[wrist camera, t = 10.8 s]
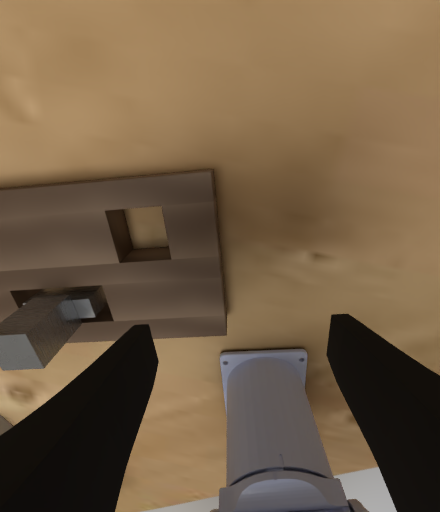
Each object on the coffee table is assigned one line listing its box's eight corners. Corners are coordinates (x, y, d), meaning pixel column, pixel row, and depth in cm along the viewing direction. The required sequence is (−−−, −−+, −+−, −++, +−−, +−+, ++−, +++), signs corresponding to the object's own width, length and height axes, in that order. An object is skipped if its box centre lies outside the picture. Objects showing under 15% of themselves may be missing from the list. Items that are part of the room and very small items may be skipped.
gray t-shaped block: (115, 299, 20) (63, 367, 14) (60, 303, 21) (-16, 371, 14) (106, 273, 19) (45, 332, 13) (48, 277, 20) (-39, 337, 13)
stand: (226, 315, 20) (226, 335, 18) (31, 325, 22) (8, 345, 19) (213, 169, 16) (210, 171, 13) (-36, 192, 17) (-78, 197, 15)
